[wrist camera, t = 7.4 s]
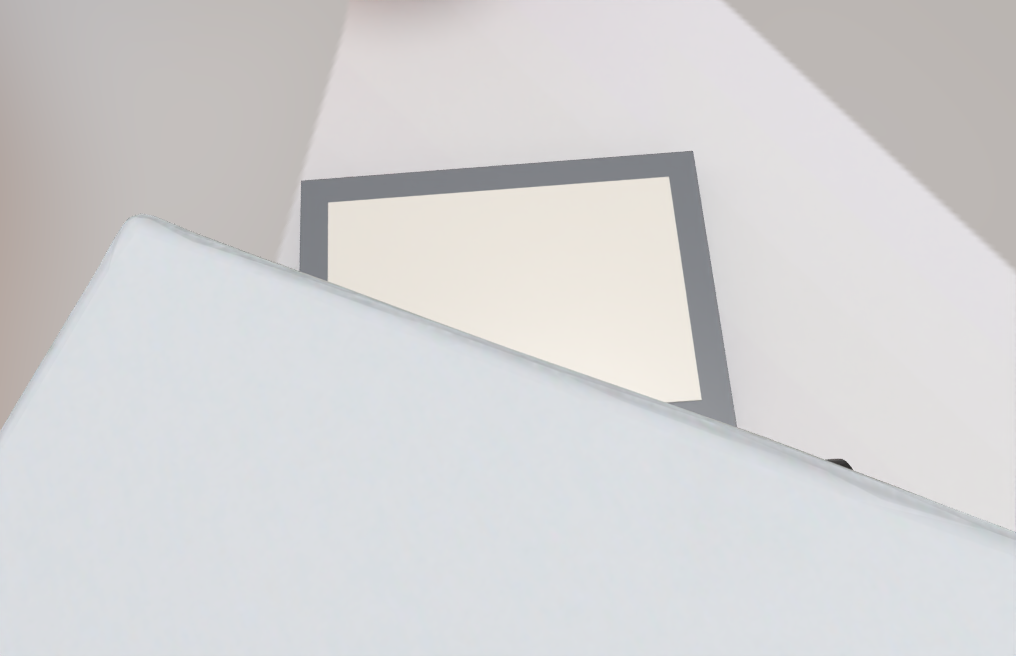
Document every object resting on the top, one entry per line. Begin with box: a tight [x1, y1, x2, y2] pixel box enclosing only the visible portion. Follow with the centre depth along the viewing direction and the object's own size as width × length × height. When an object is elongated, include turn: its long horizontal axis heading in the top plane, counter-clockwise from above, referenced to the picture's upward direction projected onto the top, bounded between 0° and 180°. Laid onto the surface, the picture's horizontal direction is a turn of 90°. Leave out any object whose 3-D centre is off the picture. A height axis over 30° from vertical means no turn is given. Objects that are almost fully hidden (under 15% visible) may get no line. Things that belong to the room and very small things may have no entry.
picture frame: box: [300, 151, 737, 427], centre depth 27 cm, size 14×10×1 cm
